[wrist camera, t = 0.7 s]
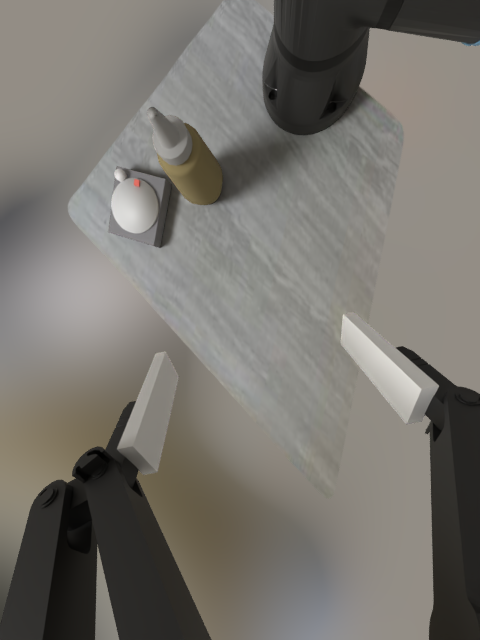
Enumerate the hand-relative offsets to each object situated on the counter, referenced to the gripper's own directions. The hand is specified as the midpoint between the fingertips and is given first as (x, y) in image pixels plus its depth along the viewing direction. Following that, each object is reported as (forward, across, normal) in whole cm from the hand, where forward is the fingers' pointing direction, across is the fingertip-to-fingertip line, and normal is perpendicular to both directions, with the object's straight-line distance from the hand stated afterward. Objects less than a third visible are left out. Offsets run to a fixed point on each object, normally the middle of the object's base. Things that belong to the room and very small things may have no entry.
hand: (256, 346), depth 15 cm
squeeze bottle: (+35, -2, +11) cm, 37 cm away
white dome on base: (+36, -16, +10) cm, 41 cm away
